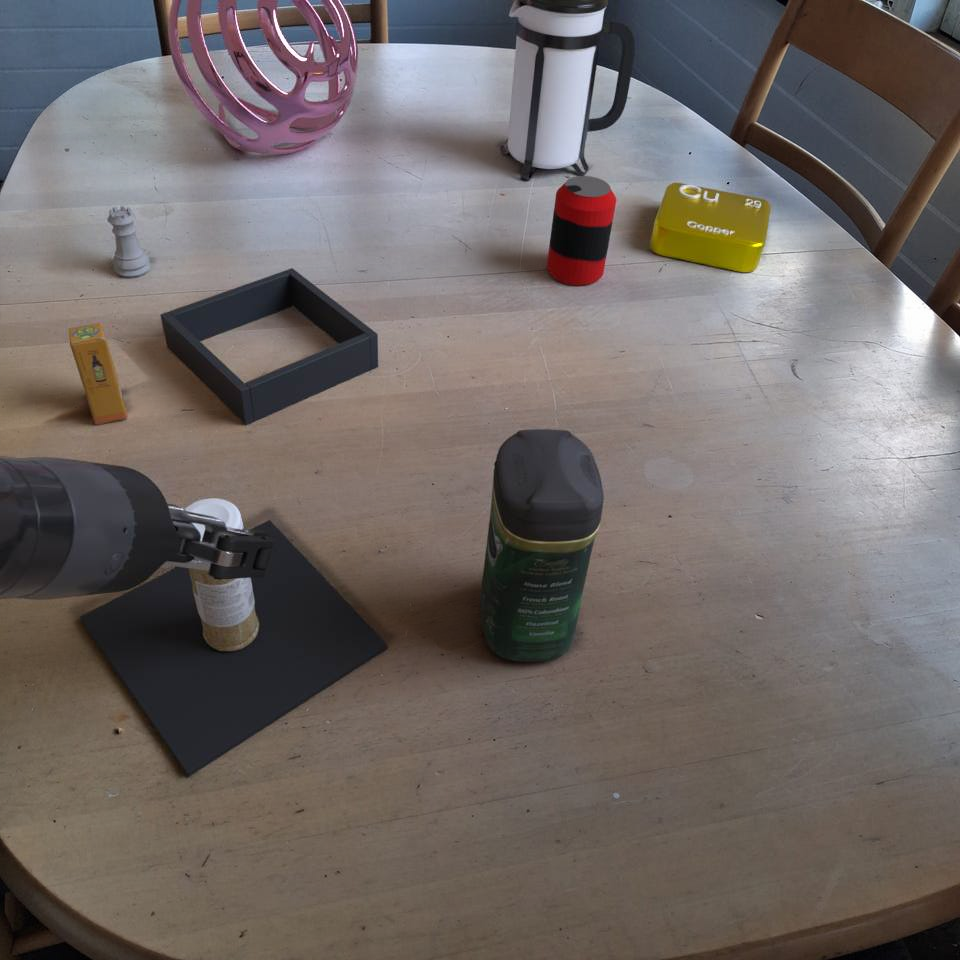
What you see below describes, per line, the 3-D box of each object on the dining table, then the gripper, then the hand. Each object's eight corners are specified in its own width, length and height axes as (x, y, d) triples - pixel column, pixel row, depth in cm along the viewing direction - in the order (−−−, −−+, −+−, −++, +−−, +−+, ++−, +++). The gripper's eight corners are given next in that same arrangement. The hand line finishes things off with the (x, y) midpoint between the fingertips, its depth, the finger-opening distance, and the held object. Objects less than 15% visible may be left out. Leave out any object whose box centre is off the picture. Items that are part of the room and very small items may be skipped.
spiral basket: (113, -17, 133) (198, -108, 114) (275, 4, 152) (371, -71, 132) (159, 176, 138) (248, 121, 118) (311, 174, 156) (410, 126, 137)
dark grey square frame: (245, 425, 93) (240, 391, 90) (167, 348, 102) (159, 314, 99) (378, 367, 102) (377, 333, 99) (295, 300, 111) (292, 267, 108)
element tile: (646, 253, 125) (653, 221, 121) (663, 206, 135) (669, 176, 132) (755, 276, 122) (765, 244, 119) (764, 226, 133) (773, 196, 129)
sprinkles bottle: (213, 606, 76) (187, 492, 66) (266, 612, 76) (248, 499, 66) (195, 651, 72) (165, 537, 63) (251, 658, 72) (230, 544, 63)
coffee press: (569, 196, 136) (600, -25, 115) (479, 166, 141) (493, -50, 121) (618, 158, 147) (654, -50, 126) (532, 131, 152) (554, -72, 132)
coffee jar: (580, 665, 74) (619, 507, 62) (485, 669, 74) (504, 509, 61) (562, 575, 81) (593, 416, 69) (475, 578, 80) (490, 417, 68)
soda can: (536, 263, 121) (546, 177, 113) (583, 252, 124) (597, 168, 116) (565, 291, 116) (578, 204, 108) (614, 280, 119) (630, 194, 111)
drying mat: (188, 777, 65) (187, 773, 65) (80, 621, 74) (79, 616, 74) (387, 648, 74) (387, 644, 74) (270, 523, 84) (269, 519, 83)
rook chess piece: (142, 281, 112) (129, 222, 106) (108, 276, 112) (93, 217, 107) (157, 263, 115) (145, 204, 109) (124, 258, 115) (110, 200, 110)
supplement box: (124, 400, 95) (103, 320, 88) (128, 420, 93) (106, 339, 86) (91, 406, 94) (67, 325, 87) (93, 426, 92) (69, 345, 85)
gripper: (202, 497, 48) (312, 506, 64) (-23, 429, 51) (136, 454, 67) (164, 632, 48) (283, 608, 64) (-59, 557, 51) (109, 552, 67)
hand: (208, 529), depth 65 cm, fingers open, 8 cm apart
